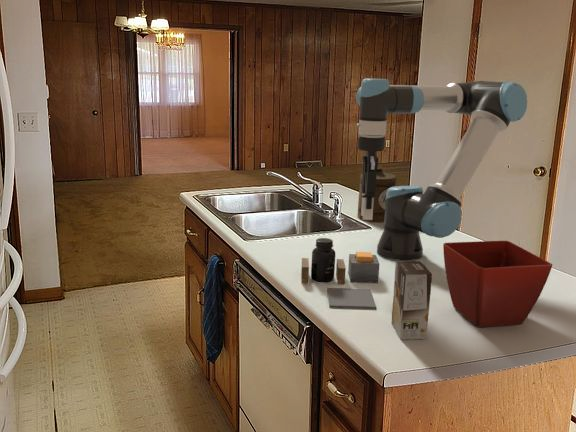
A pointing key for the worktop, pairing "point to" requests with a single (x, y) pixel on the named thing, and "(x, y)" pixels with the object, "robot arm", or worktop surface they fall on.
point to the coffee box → (411, 299)
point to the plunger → (364, 257)
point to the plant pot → (494, 281)
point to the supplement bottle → (323, 261)
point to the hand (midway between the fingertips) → (366, 217)
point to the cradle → (339, 271)
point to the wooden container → (378, 195)
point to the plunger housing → (363, 270)
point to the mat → (350, 298)
